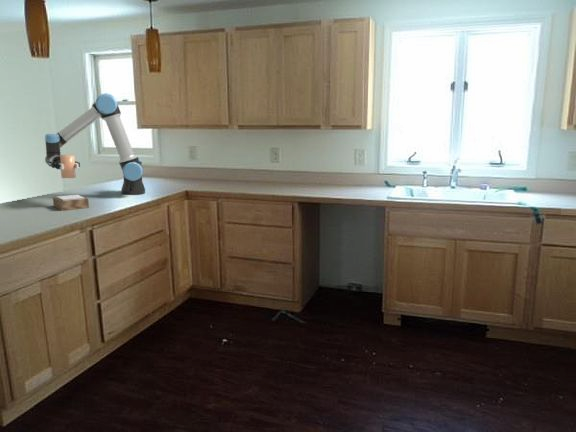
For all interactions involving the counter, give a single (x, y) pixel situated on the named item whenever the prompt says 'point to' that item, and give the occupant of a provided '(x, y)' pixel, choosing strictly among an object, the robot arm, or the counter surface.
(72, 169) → the peach glossy cylinder
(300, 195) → the counter surface
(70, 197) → the walnut base
